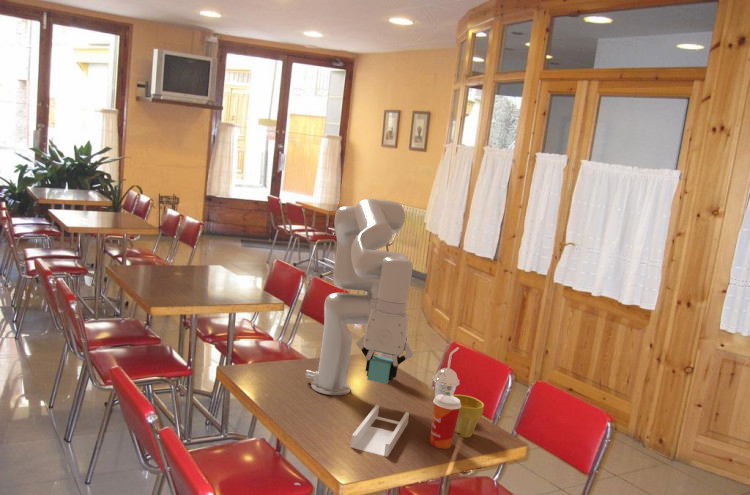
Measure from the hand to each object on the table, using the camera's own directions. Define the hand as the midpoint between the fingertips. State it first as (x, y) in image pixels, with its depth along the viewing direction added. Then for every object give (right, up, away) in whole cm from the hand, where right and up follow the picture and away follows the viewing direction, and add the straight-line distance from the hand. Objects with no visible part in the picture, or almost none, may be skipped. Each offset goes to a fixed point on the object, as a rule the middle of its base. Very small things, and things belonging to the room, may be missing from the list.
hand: (380, 376), depth 164 cm
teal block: (+1, +2, +2) cm, 3 cm away
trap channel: (0, -20, +14) cm, 24 cm away
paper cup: (+16, -22, +14) cm, 31 cm away
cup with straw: (+20, -19, +42) cm, 50 cm away
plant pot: (+24, -22, +27) cm, 42 cm away
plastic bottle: (+1, -14, +65) cm, 67 cm away
